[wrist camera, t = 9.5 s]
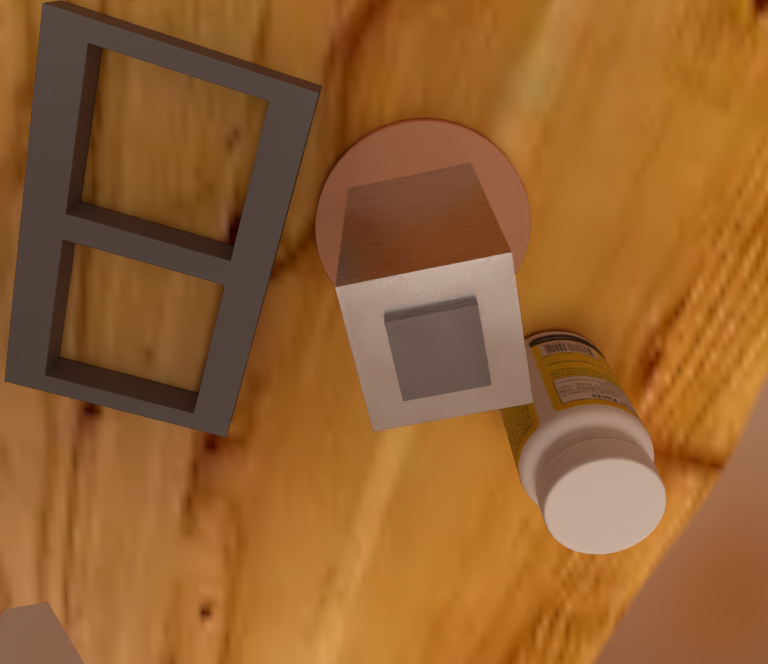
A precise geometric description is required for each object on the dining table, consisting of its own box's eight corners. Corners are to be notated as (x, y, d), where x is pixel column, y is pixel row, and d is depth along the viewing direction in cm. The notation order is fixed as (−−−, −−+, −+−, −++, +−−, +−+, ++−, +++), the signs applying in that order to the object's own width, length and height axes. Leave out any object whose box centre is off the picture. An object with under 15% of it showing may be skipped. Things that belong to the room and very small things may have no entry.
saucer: (293, 287, 29) (291, 295, 29) (351, 88, 26) (350, 91, 25) (481, 341, 30) (484, 350, 30) (560, 157, 27) (565, 162, 26)
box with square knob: (374, 299, 29) (373, 440, 20) (348, 188, 27) (334, 293, 18) (489, 276, 28) (535, 410, 20) (471, 162, 26) (514, 257, 18)
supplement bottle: (531, 442, 33) (577, 585, 25) (472, 369, 31) (501, 499, 24) (627, 386, 31) (704, 519, 24) (570, 306, 30) (635, 423, 22)
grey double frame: (20, 362, 31) (4, 381, 29) (61, 0, 25) (42, 2, 23) (232, 417, 32) (225, 437, 31) (321, 86, 26) (318, 93, 24)
